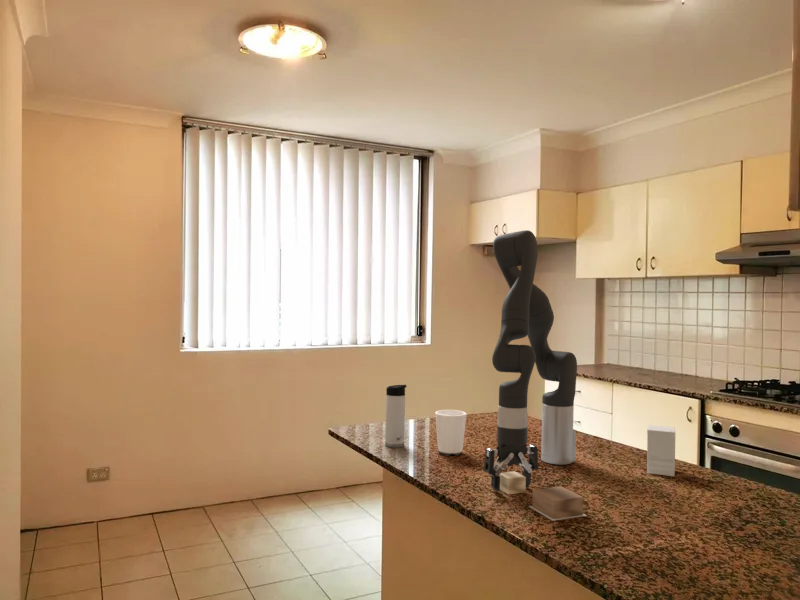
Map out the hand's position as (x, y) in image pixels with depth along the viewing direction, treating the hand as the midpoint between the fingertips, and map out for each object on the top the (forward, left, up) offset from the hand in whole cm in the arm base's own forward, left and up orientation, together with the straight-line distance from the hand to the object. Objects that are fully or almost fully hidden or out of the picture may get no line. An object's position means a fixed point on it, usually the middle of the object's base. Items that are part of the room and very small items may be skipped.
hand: (510, 488), depth 152 cm
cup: (-3, -40, -2) cm, 40 cm away
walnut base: (-2, +16, 0) cm, 16 cm away
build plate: (-5, +13, -2) cm, 14 cm away
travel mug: (+10, -54, -2) cm, 55 cm away
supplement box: (-52, -3, -2) cm, 52 cm away
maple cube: (0, 0, -2) cm, 2 cm away
